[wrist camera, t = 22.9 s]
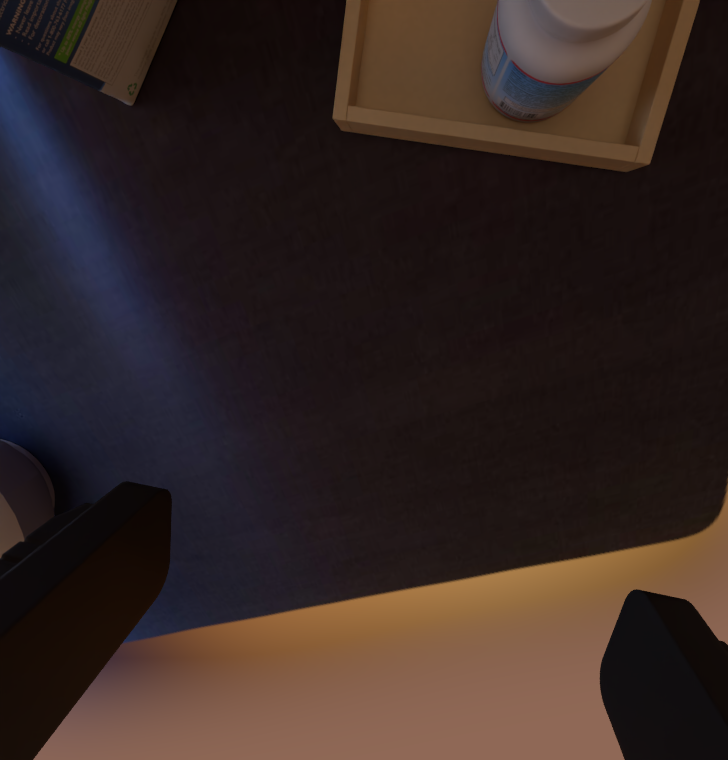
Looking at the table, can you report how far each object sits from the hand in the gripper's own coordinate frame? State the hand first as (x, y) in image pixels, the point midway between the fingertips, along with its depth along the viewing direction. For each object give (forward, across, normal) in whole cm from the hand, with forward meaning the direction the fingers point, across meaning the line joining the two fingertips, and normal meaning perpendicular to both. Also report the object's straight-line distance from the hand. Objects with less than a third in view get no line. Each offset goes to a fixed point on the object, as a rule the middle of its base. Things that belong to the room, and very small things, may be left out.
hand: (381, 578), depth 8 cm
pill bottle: (+25, -4, -16) cm, 30 cm away
